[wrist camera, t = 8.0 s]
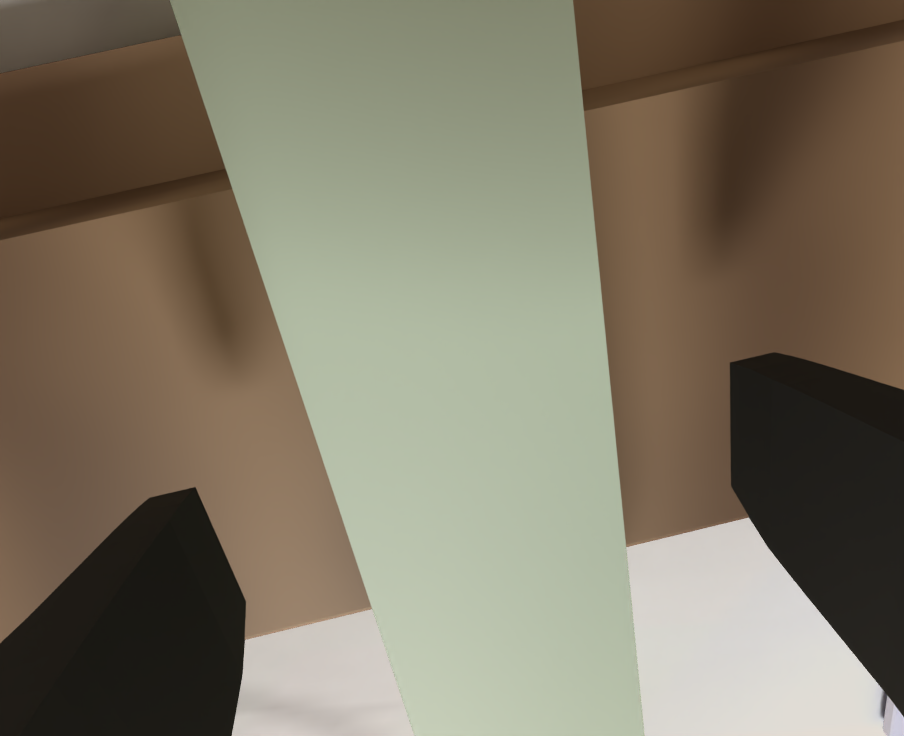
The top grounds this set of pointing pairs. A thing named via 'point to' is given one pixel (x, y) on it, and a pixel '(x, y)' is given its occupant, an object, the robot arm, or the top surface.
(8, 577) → the slotted plank
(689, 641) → the top surface
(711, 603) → the top surface
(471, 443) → the sage block
